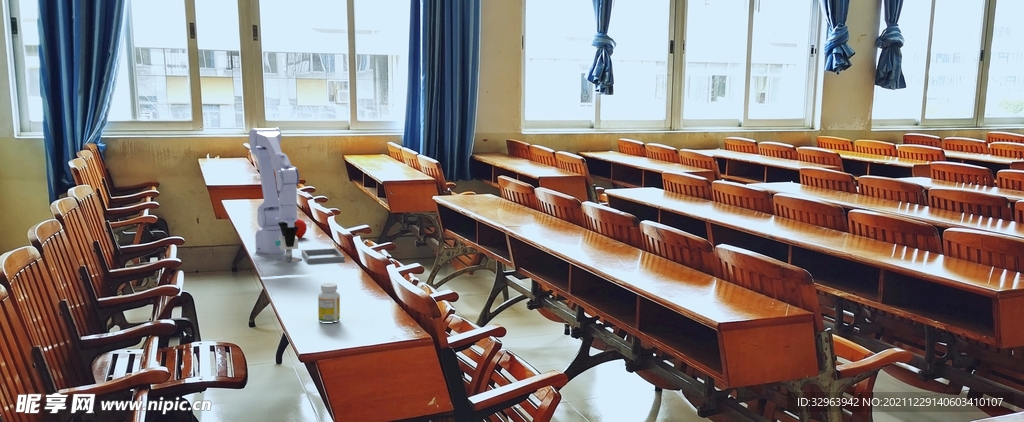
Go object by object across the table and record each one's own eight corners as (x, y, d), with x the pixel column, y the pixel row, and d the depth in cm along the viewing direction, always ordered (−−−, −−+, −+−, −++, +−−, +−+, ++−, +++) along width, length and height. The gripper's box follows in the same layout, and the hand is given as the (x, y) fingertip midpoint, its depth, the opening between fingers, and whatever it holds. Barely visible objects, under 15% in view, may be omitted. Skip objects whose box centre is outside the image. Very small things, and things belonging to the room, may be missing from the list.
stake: (274, 260, 277) (274, 246, 277) (300, 258, 281) (299, 245, 280) (277, 266, 270) (277, 251, 269) (303, 264, 273) (303, 250, 272)
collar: (274, 246, 275) (274, 236, 275) (295, 245, 278) (295, 235, 277) (276, 250, 270) (276, 239, 270) (298, 248, 273) (298, 238, 272)
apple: (281, 238, 313) (280, 219, 312) (294, 235, 321) (293, 216, 319) (298, 240, 310) (298, 221, 309) (311, 237, 318) (310, 218, 316)
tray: (301, 257, 283) (301, 250, 283) (336, 254, 288) (336, 248, 288) (307, 266, 271) (307, 258, 270) (344, 263, 275) (344, 256, 275)
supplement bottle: (327, 325, 208) (326, 288, 207) (314, 321, 212) (313, 284, 210) (344, 321, 212) (343, 284, 211) (331, 316, 216) (330, 281, 214)
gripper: (272, 201, 277) (273, 241, 279) (278, 208, 264) (278, 250, 266) (294, 200, 280) (295, 240, 282) (300, 207, 267) (301, 248, 269)
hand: (288, 244), depth 274 cm, fingers closed on collar, 5 cm apart
